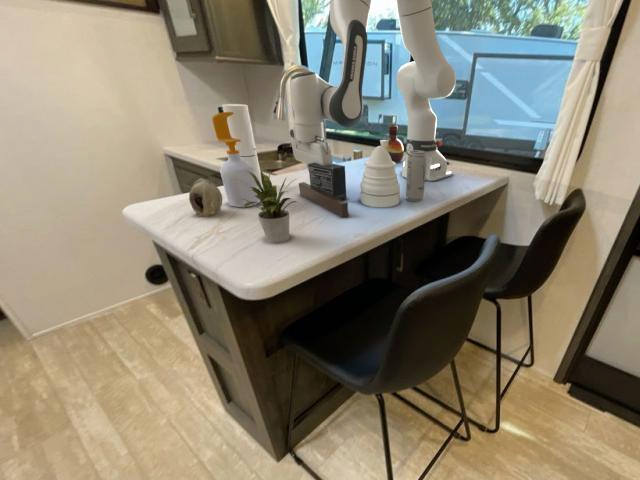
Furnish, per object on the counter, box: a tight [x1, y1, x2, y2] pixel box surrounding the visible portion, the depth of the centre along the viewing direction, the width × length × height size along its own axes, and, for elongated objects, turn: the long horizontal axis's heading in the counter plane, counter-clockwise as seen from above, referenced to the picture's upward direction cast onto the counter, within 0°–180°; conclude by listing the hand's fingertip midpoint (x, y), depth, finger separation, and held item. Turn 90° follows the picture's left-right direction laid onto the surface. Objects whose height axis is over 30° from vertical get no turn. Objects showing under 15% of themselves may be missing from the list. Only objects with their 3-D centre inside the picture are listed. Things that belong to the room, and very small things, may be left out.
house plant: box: [234, 169, 299, 244], centre depth 75 cm, size 14×14×16 cm
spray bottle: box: [211, 111, 261, 208], centre depth 93 cm, size 9×9×25 cm
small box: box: [307, 163, 348, 201], centre depth 105 cm, size 11×6×10 cm, turn 58°
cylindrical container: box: [221, 103, 264, 190], centre depth 107 cm, size 7×7×25 cm
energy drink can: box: [405, 150, 427, 202], centre depth 106 cm, size 6×6×15 cm
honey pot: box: [359, 139, 401, 208], centre depth 102 cm, size 13×13×18 cm
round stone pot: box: [188, 177, 223, 217], centre depth 90 cm, size 9×8×10 cm
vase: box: [385, 124, 405, 164], centre depth 155 cm, size 11×11×15 cm
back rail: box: [298, 181, 349, 218], centre depth 100 cm, size 2×26×4 cm, turn 41°
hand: (314, 179), depth 111 cm, fingers closed
